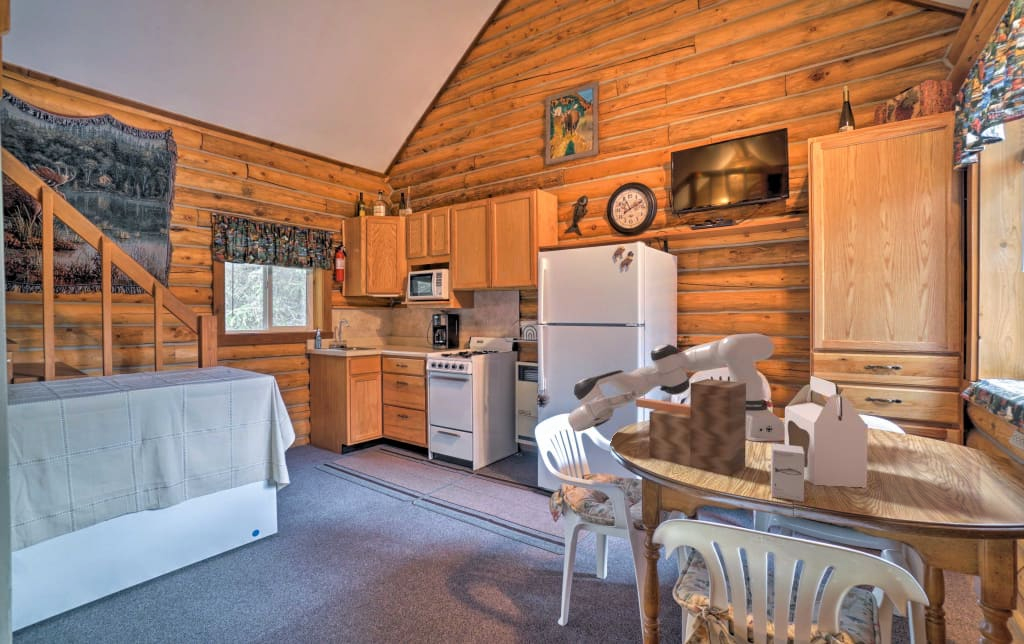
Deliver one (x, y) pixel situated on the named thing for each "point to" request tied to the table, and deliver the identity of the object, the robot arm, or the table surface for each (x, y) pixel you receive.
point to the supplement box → (787, 472)
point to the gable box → (828, 435)
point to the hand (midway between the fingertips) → (629, 394)
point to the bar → (663, 406)
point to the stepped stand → (704, 429)
